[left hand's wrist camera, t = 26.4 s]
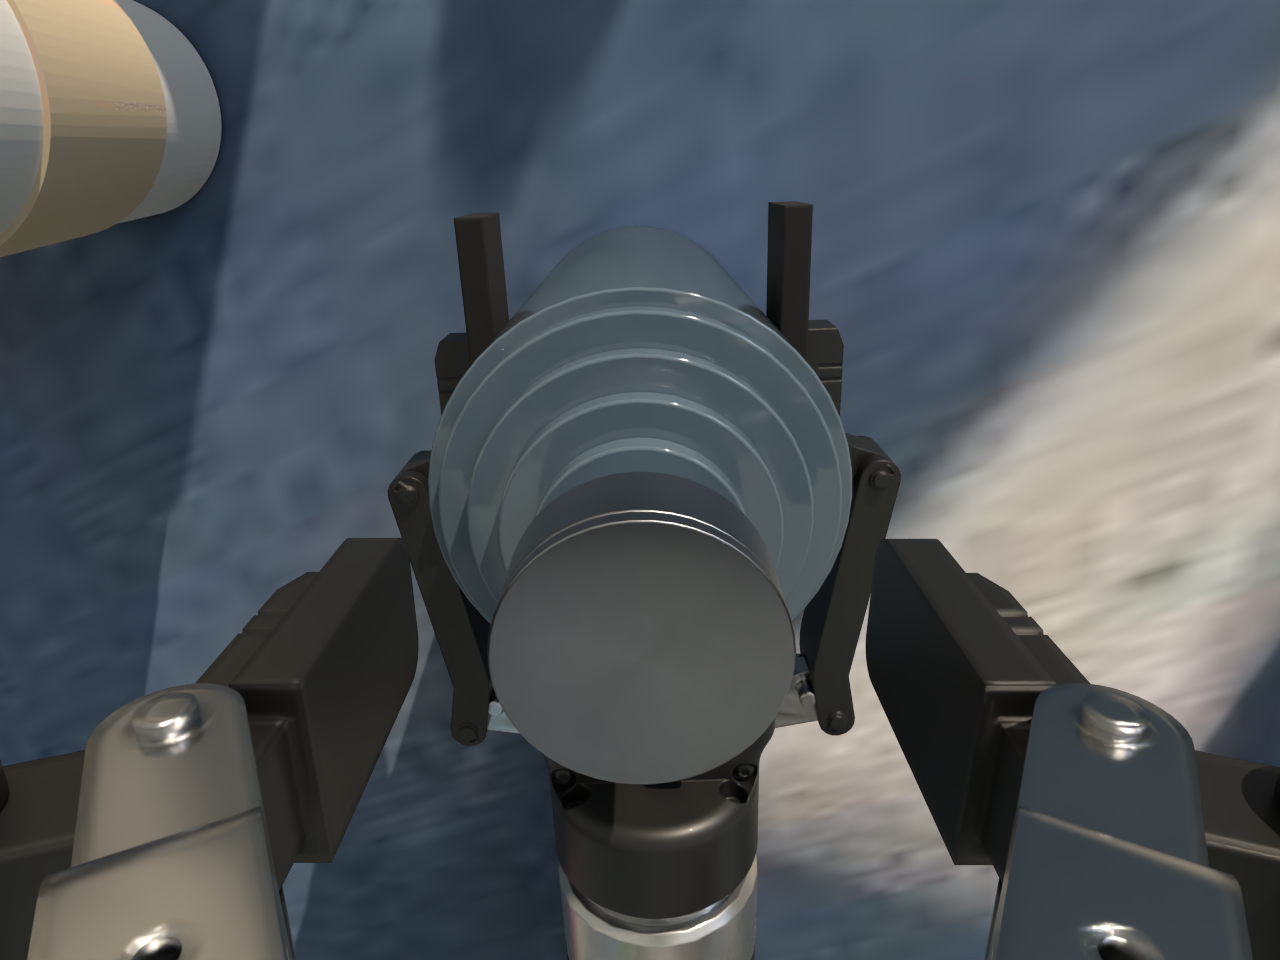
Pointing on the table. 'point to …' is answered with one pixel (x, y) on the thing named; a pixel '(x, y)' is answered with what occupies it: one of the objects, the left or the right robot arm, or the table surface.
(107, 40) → the coffee cup
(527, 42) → the table surface
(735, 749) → the metal cylinder
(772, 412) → the bottle
